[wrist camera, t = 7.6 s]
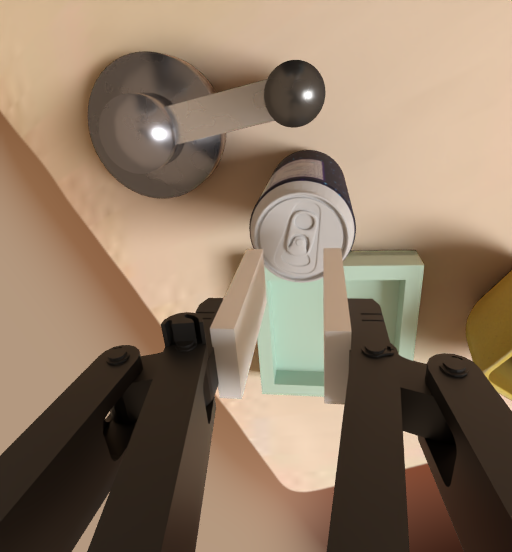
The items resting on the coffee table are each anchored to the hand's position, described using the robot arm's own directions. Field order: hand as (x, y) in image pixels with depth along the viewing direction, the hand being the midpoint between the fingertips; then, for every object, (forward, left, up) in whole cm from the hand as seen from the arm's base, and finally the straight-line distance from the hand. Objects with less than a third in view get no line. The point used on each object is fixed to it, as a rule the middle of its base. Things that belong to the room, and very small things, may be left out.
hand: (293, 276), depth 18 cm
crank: (-6, -6, -13) cm, 15 cm away
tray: (+11, +2, -15) cm, 19 cm away
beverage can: (-1, 0, -15) cm, 15 cm away
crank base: (-6, -11, -15) cm, 19 cm away
